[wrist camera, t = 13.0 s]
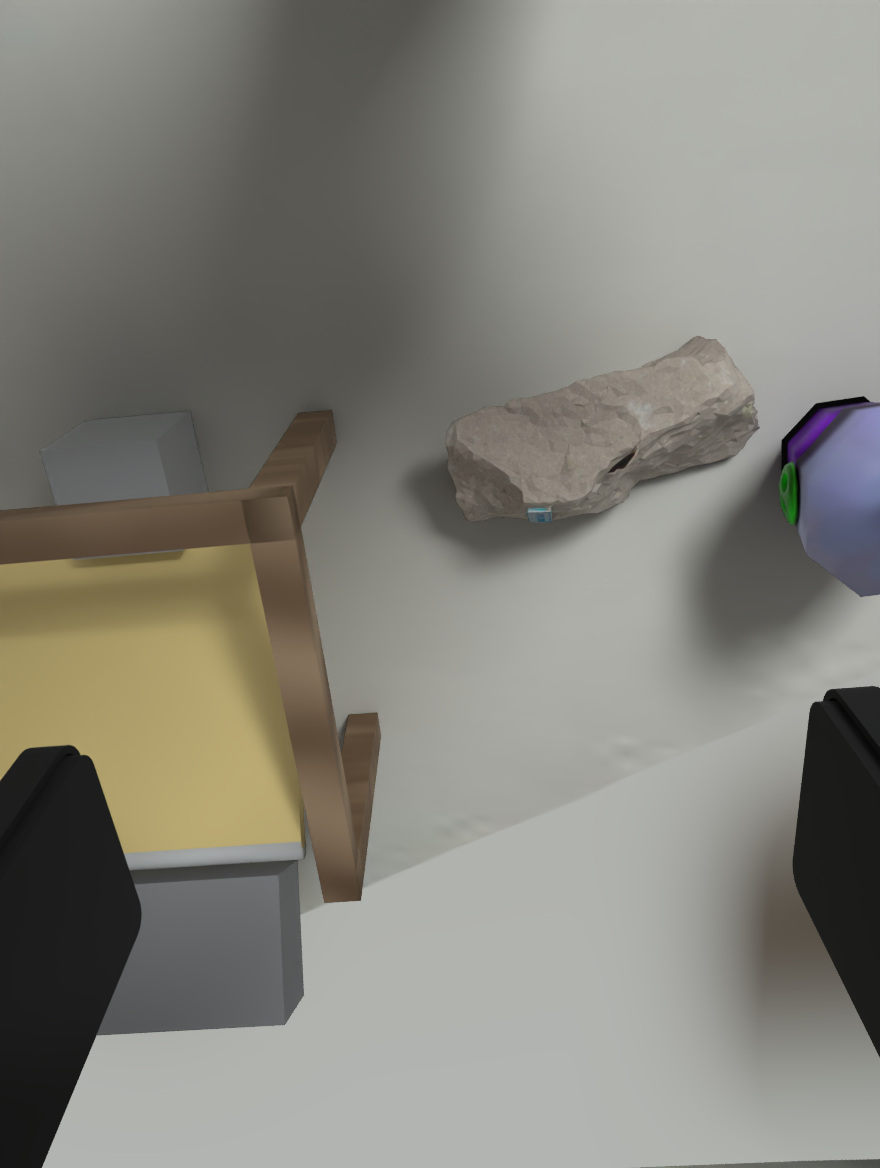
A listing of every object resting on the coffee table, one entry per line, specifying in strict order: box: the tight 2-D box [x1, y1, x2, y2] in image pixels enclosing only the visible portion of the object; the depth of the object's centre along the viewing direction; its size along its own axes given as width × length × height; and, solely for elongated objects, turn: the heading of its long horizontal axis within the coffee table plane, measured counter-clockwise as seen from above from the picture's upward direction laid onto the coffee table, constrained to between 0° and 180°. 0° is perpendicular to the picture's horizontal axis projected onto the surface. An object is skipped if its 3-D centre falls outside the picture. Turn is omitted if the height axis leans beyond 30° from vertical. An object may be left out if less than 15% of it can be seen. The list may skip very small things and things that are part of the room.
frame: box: [0, 410, 381, 903], centre depth 38 cm, size 19×19×12 cm
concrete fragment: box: [445, 336, 760, 523], centre depth 37 cm, size 7×14×6 cm, turn 102°
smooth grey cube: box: [40, 411, 208, 560], centre depth 38 cm, size 5×5×5 cm
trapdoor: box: [0, 544, 306, 1035], centre depth 39 cm, size 21×14×4 cm
